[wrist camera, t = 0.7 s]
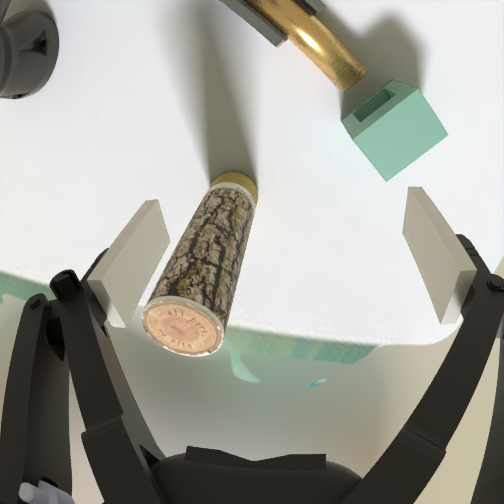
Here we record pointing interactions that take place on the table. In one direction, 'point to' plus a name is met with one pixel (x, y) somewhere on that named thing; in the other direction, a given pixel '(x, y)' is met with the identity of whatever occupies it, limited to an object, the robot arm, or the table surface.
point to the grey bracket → (262, 24)
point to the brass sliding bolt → (312, 40)
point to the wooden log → (203, 271)
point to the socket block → (394, 128)
